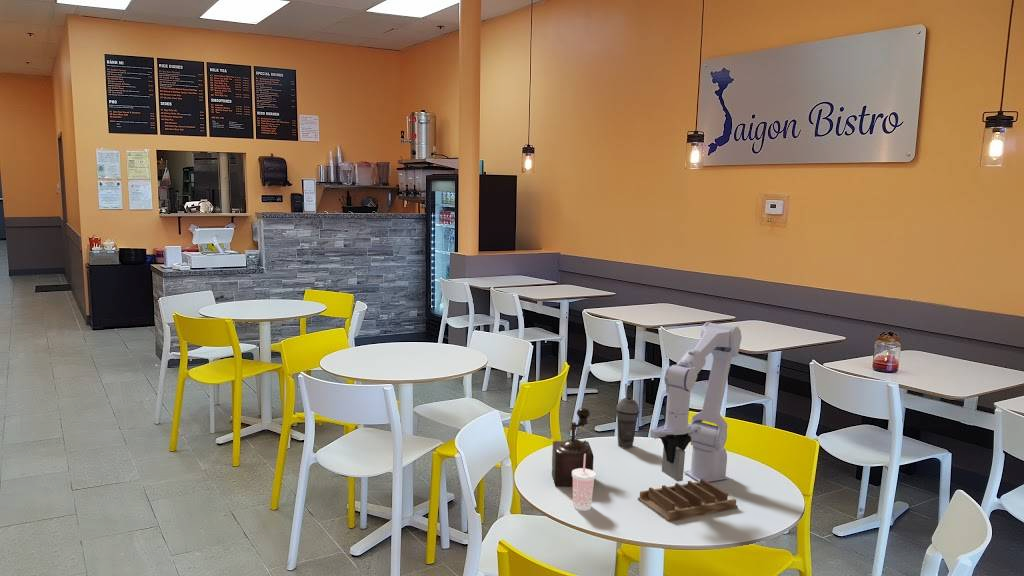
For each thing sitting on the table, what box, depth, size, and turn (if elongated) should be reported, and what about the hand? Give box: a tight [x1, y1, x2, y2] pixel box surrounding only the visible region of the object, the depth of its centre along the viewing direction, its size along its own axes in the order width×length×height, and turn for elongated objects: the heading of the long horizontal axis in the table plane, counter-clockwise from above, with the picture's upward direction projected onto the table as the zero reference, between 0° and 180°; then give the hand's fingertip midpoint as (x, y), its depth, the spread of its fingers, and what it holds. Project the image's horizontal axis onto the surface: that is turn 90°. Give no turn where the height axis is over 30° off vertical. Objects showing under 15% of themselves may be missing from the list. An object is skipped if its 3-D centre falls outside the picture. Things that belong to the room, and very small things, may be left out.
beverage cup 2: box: [615, 383, 640, 449], centre depth 225 cm, size 7×7×20 cm
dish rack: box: [637, 479, 738, 522], centre depth 186 cm, size 22×13×4 cm, turn 115°
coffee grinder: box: [551, 407, 594, 488], centre depth 200 cm, size 16×11×18 cm
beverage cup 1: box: [572, 454, 597, 511], centre depth 181 cm, size 6×6×14 cm
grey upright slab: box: [661, 447, 686, 483], centre depth 188 cm, size 2×7×8 cm, turn 24°
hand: (673, 461), depth 188 cm, fingers closed on grey upright slab, 2 cm apart
